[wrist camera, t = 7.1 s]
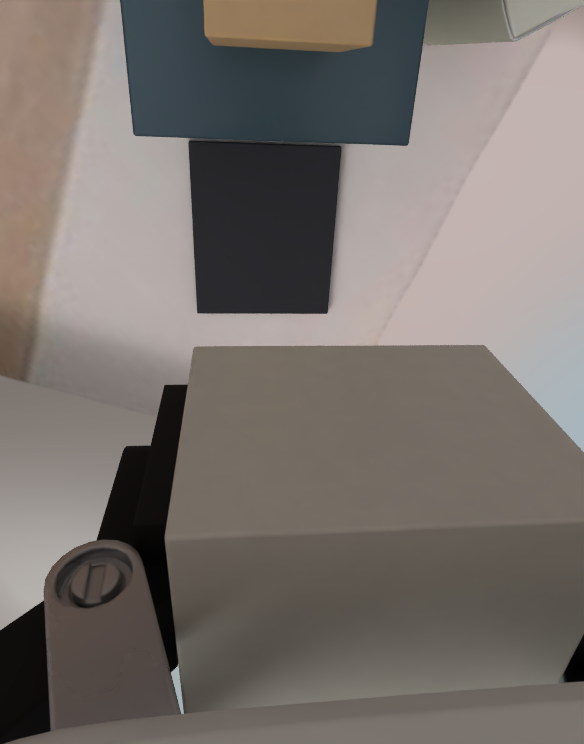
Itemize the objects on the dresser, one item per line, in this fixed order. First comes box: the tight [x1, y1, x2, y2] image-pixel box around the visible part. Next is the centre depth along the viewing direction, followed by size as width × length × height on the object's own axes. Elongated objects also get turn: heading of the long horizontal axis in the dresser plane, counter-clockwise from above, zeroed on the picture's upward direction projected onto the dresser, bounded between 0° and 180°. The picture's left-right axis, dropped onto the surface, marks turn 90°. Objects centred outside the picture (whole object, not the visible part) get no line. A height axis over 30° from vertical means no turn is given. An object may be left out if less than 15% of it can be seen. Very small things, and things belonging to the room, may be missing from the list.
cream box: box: [165, 345, 584, 714], centre depth 9 cm, size 6×6×4 cm
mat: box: [189, 141, 341, 314], centre depth 37 cm, size 12×10×1 cm
